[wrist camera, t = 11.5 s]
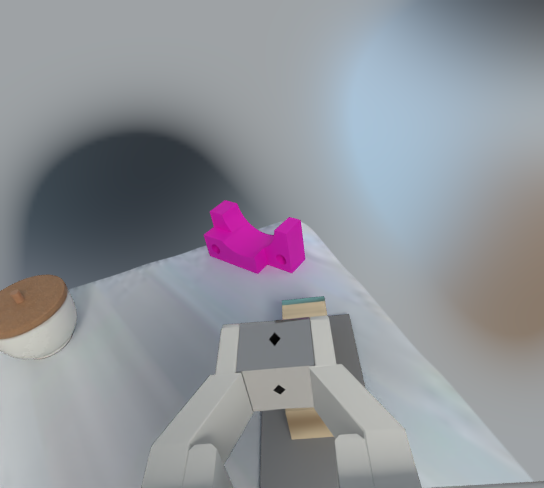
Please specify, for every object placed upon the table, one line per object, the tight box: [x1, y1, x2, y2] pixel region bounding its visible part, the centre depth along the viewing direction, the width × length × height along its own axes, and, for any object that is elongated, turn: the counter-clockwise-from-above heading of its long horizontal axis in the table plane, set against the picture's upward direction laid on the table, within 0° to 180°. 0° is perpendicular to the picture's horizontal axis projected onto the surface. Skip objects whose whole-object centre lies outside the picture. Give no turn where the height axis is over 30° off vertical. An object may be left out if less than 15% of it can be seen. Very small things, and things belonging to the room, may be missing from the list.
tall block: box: [282, 296, 334, 440], centre depth 41 cm, size 5×5×14 cm
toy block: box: [204, 200, 305, 274], centre depth 60 cm, size 15×6×8 cm, turn 54°
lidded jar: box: [0, 275, 77, 359], centre depth 51 cm, size 11×11×9 cm
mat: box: [260, 314, 365, 488], centre depth 41 cm, size 22×11×1 cm, turn 0°
